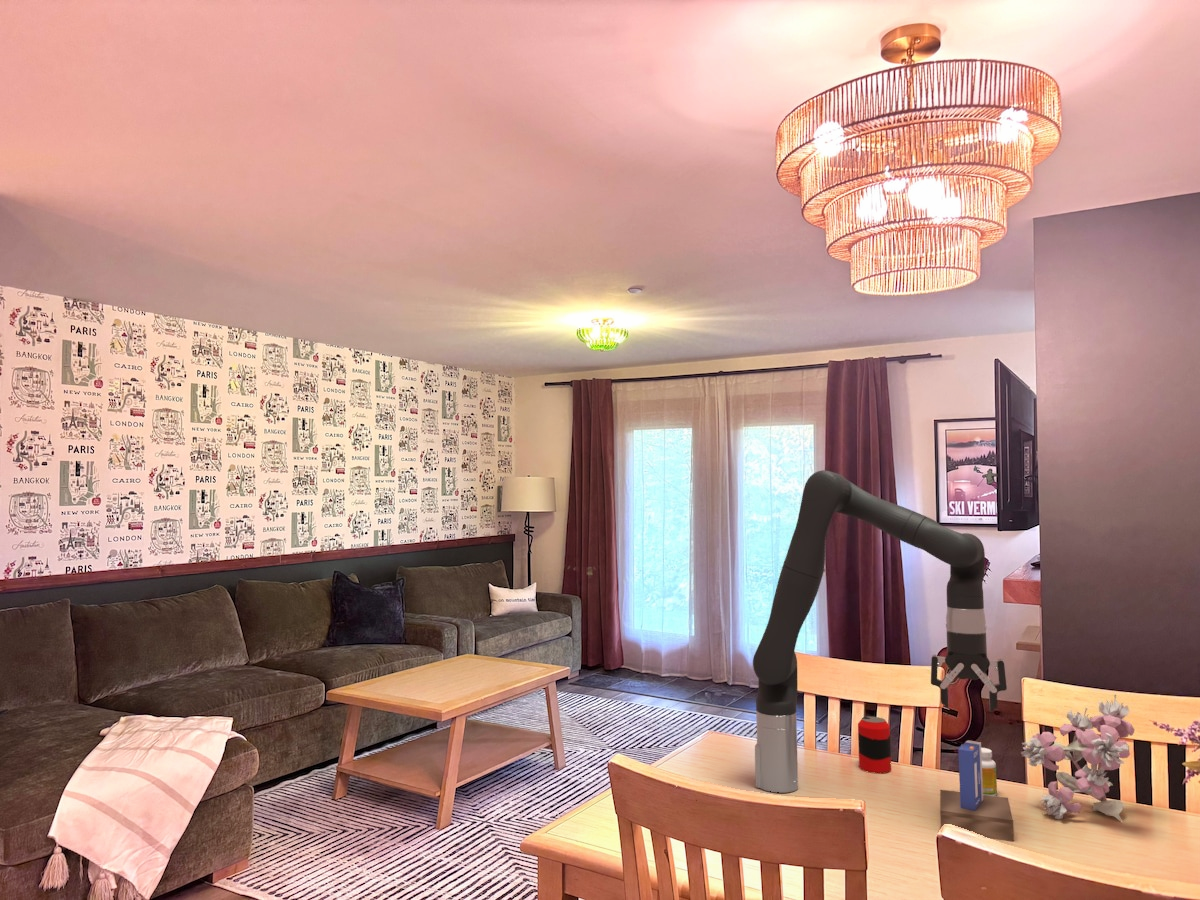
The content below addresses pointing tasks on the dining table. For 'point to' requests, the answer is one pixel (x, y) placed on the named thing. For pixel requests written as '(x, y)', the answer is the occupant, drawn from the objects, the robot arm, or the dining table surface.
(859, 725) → the soda can
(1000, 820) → the walnut stand
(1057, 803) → the flower
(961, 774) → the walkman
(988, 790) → the supplement bottle
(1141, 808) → the dining table surface
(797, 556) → the robot arm
